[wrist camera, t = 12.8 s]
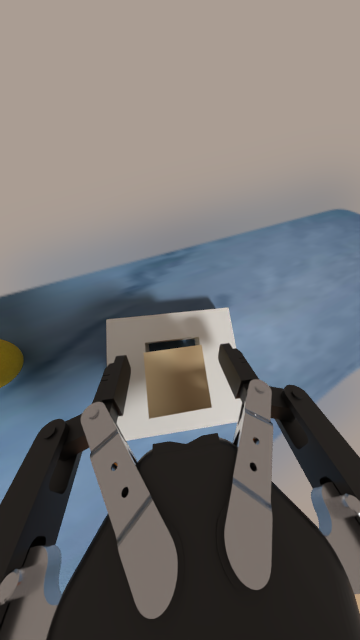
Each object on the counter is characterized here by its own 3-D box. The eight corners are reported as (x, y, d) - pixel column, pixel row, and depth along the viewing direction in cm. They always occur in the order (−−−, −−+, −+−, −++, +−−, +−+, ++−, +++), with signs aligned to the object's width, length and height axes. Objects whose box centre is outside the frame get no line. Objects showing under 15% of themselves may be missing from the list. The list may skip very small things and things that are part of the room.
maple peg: (159, 384, 18) (148, 418, 9) (156, 351, 18) (143, 352, 10) (191, 379, 18) (211, 407, 9) (187, 347, 19) (201, 344, 10)
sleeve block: (119, 426, 16) (108, 443, 13) (116, 324, 19) (106, 319, 16) (236, 408, 18) (249, 419, 15) (219, 313, 20) (228, 307, 17)
